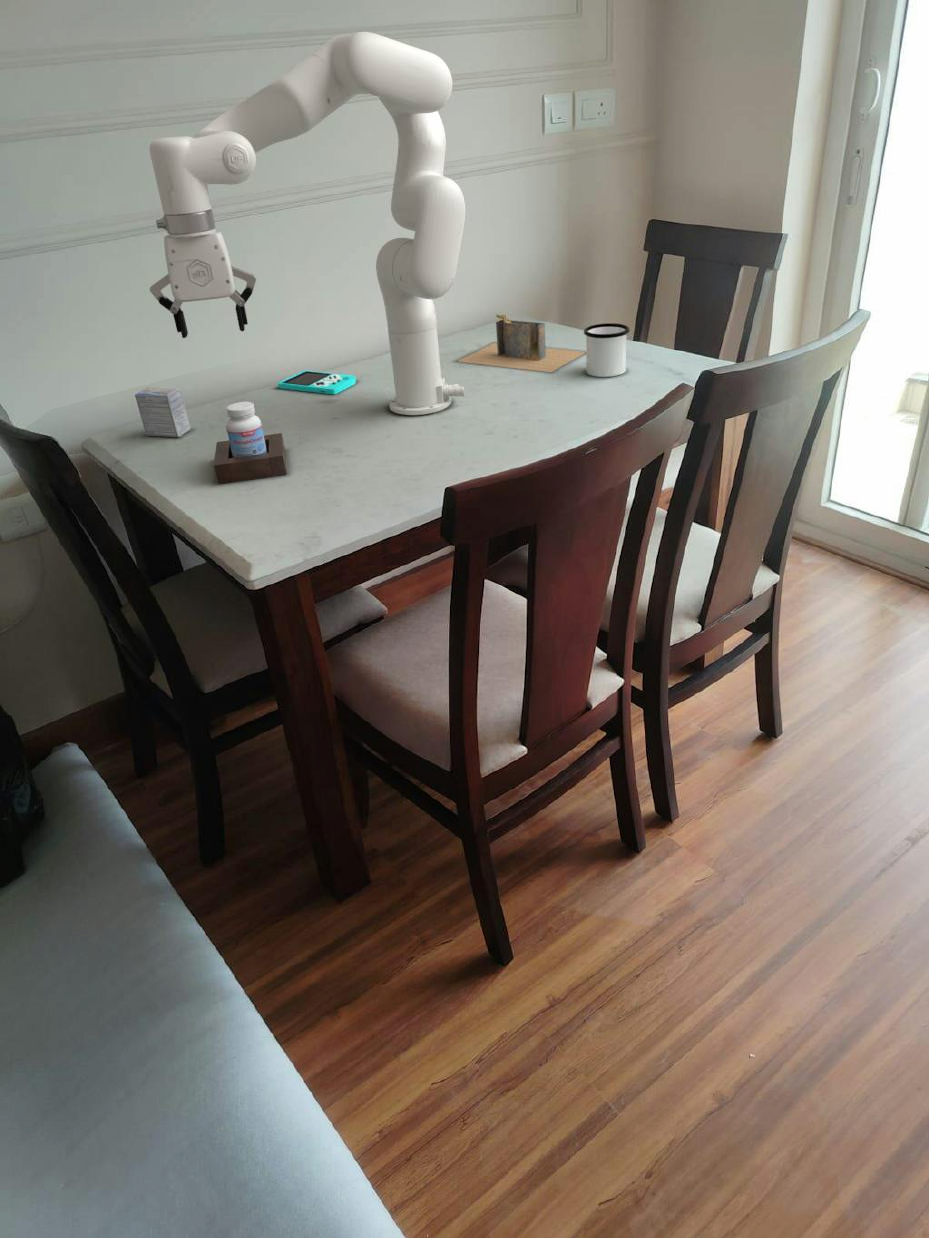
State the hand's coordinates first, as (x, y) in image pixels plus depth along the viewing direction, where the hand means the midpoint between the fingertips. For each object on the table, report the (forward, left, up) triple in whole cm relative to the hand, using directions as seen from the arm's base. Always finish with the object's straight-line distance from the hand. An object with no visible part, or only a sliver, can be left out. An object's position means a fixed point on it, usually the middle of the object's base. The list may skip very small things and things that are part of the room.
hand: (214, 332), depth 151 cm
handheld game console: (-6, -42, -23) cm, 48 cm away
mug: (-70, -41, -23) cm, 84 cm away
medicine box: (+19, -15, -23) cm, 33 cm away
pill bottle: (-4, +5, -23) cm, 24 cm away
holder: (-4, +5, -22) cm, 23 cm away
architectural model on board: (-51, -55, -23) cm, 78 cm away
